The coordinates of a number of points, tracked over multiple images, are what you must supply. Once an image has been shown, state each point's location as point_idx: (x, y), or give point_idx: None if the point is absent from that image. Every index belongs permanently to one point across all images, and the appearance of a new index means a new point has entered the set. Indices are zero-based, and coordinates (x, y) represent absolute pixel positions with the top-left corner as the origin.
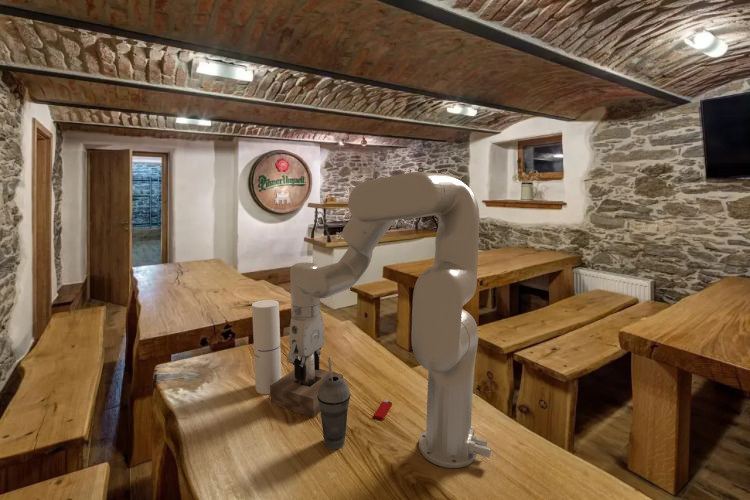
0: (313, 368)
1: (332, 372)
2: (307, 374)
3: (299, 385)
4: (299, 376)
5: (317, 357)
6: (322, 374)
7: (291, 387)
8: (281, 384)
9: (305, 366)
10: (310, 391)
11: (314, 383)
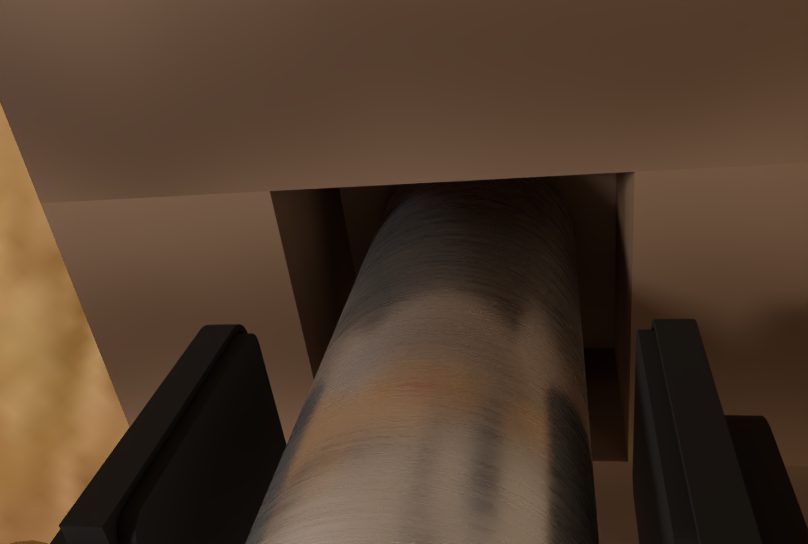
0: (399, 376)
1: (33, 155)
2: (554, 369)
3: None
4: (764, 439)
5: (115, 532)
6: (188, 249)
7: (775, 400)
8: None
9: (580, 537)
10: (769, 60)
11: (428, 211)
